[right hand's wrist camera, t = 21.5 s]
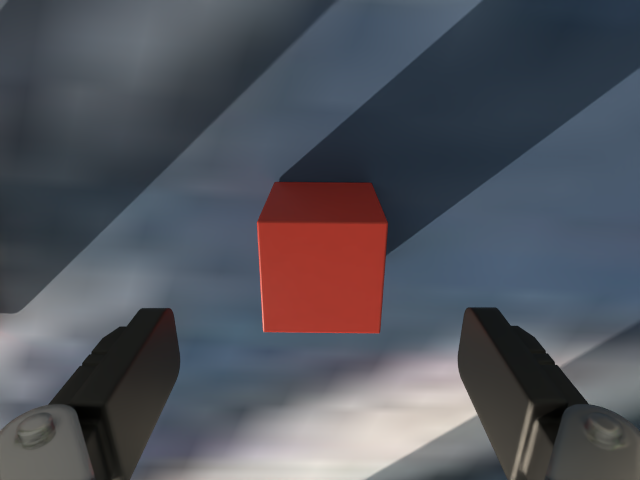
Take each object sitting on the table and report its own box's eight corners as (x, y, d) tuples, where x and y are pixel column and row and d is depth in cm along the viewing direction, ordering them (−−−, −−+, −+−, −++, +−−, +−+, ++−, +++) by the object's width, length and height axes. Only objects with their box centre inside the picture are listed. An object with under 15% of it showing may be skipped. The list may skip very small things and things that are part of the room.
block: (277, 269, 19) (262, 332, 15) (274, 181, 18) (256, 221, 13) (367, 270, 19) (380, 333, 15) (371, 182, 18) (388, 222, 13)
